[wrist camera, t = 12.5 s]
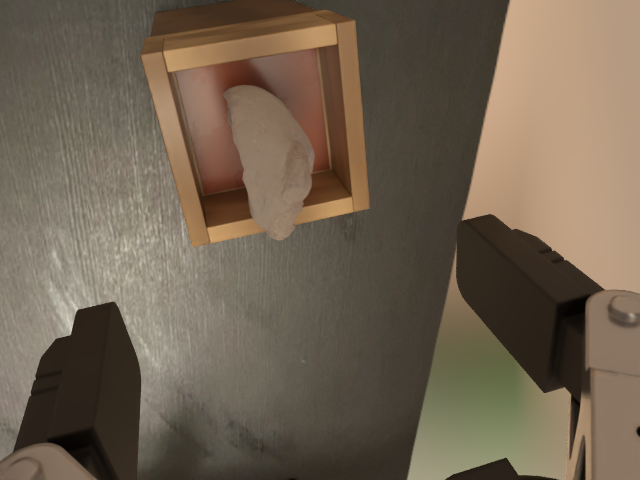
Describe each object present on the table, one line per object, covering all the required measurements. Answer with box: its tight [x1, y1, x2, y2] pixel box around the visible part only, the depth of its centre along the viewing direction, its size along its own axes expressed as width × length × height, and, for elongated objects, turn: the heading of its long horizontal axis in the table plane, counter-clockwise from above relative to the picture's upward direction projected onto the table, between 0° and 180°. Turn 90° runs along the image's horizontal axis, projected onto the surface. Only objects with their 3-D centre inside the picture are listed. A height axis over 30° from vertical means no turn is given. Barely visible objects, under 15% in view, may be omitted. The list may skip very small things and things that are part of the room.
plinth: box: [150, 0, 317, 37], centre depth 35 cm, size 9×9×14 cm
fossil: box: [223, 85, 315, 240], centre depth 24 cm, size 6×4×10 cm, turn 13°
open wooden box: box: [141, 10, 370, 247], centre depth 27 cm, size 9×9×5 cm
